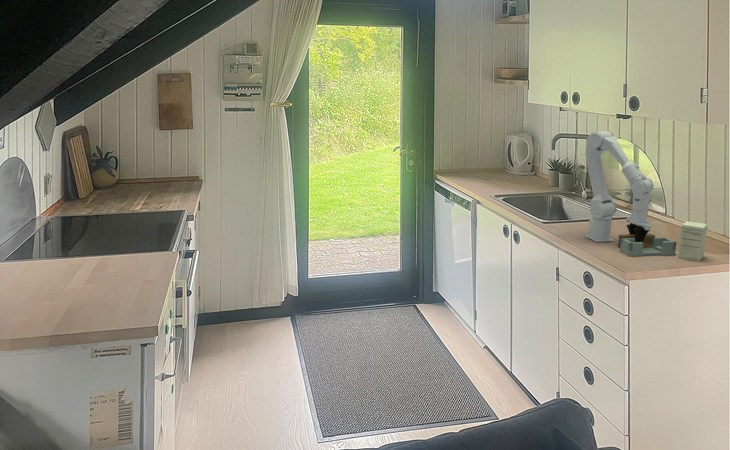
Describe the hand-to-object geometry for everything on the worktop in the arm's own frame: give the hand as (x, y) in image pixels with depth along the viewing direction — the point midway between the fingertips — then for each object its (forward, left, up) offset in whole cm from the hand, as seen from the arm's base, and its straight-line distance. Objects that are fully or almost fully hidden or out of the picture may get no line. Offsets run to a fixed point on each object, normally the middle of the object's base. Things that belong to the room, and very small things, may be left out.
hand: (636, 243), depth 239 cm
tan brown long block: (0, 0, -1) cm, 1 cm away
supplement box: (+15, +13, -2) cm, 20 cm away
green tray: (+8, 0, -1) cm, 8 cm away
